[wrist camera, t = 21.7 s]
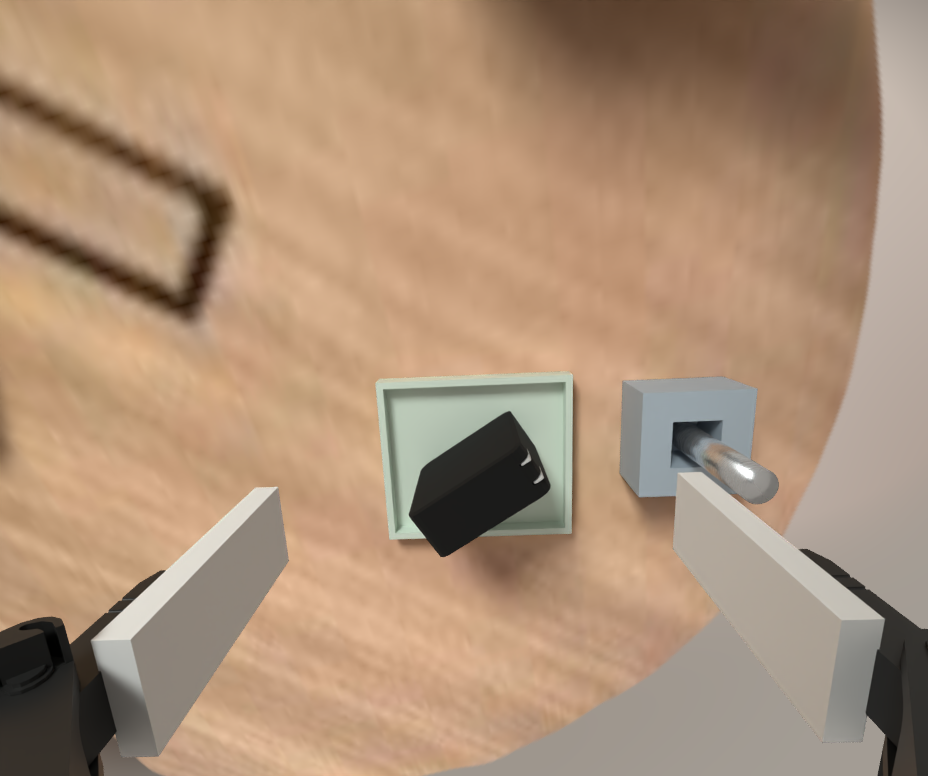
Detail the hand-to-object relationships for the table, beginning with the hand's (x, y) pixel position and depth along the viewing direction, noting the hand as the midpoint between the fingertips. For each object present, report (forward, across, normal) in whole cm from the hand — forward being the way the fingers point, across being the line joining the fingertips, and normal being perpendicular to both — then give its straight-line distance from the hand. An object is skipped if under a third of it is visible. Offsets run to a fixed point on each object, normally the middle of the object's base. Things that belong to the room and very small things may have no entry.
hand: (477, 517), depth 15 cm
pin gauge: (+26, +18, -6) cm, 32 cm away
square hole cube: (+27, +18, -6) cm, 33 cm away
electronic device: (+26, 0, -8) cm, 28 cm away
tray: (+27, 0, -8) cm, 28 cm away
